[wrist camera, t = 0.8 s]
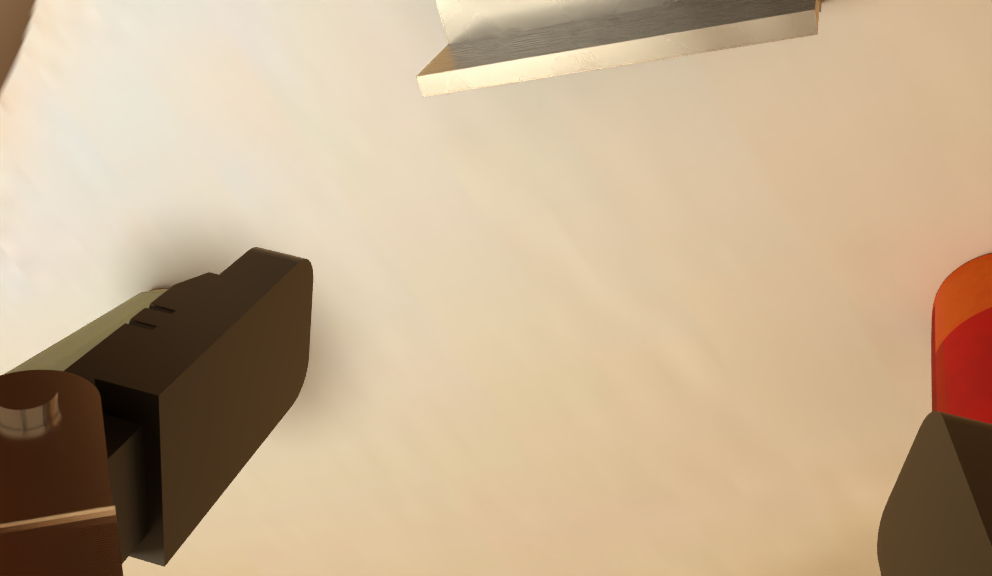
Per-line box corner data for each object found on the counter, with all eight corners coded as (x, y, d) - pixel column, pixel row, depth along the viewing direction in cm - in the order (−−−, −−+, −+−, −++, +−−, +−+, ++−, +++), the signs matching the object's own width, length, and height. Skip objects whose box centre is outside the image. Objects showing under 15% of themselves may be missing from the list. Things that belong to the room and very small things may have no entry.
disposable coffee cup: (235, 427, 56) (74, 632, 45) (84, 332, 56) (-119, 516, 44) (290, 323, 50) (118, 532, 38) (120, 214, 49) (-108, 393, 37)
